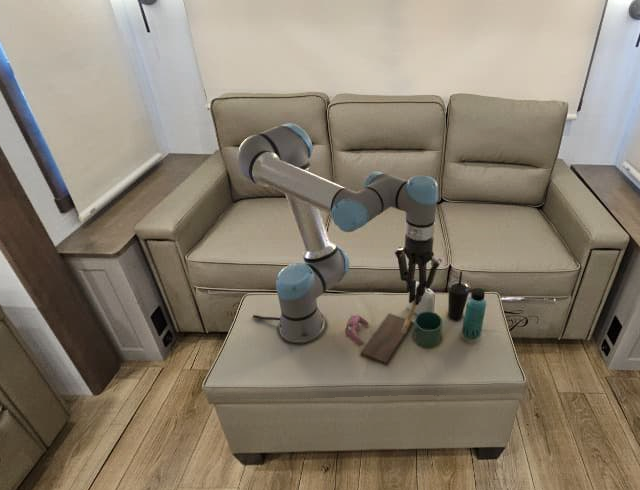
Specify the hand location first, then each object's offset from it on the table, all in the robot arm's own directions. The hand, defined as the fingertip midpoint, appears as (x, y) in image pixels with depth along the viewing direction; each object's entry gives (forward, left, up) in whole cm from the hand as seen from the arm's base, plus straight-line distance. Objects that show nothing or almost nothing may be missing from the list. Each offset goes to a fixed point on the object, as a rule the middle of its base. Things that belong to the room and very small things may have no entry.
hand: (415, 300), depth 125 cm
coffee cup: (+2, +8, -22) cm, 23 cm away
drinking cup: (+7, +22, -22) cm, 32 cm away
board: (-9, +1, -22) cm, 24 cm away
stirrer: (0, -1, -1) cm, 1 cm away
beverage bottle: (+15, +15, -22) cm, 30 cm away
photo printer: (-5, +18, -22) cm, 29 cm away
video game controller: (-20, -1, -22) cm, 30 cm away
